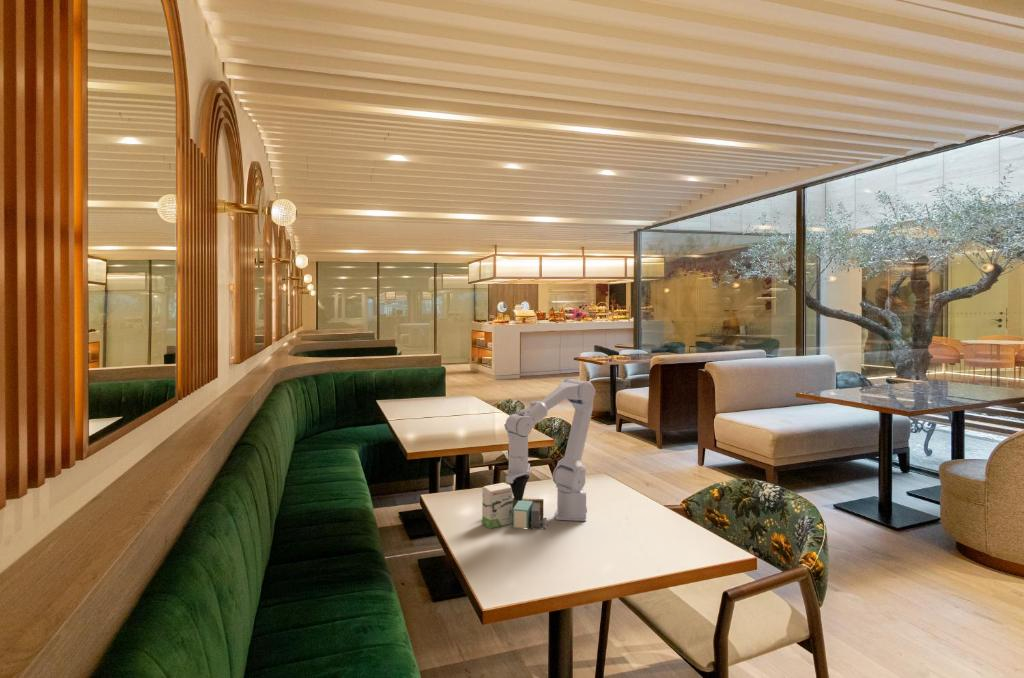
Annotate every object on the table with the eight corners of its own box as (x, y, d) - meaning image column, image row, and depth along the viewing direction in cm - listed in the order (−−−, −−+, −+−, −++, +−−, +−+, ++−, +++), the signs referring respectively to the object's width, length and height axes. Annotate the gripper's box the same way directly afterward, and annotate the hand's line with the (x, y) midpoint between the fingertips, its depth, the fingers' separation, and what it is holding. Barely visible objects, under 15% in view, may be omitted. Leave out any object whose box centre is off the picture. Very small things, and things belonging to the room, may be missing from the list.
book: (532, 519, 185) (532, 501, 184) (527, 529, 177) (527, 510, 176) (518, 518, 186) (518, 500, 185) (513, 528, 178) (513, 509, 177)
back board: (543, 517, 186) (543, 499, 186) (543, 518, 185) (543, 500, 185) (490, 515, 188) (490, 497, 187) (490, 516, 187) (490, 498, 186)
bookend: (546, 519, 185) (546, 502, 184) (545, 529, 177) (545, 511, 177) (532, 518, 185) (532, 501, 185) (531, 528, 177) (531, 510, 177)
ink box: (489, 529, 177) (489, 491, 176) (481, 523, 181) (481, 486, 180) (513, 523, 182) (513, 486, 181) (504, 517, 186) (504, 481, 185)
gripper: (521, 463, 165) (521, 509, 166) (539, 450, 178) (539, 493, 179) (499, 460, 167) (499, 506, 169) (518, 448, 181) (517, 490, 182)
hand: (518, 499), depth 174 cm, fingers closed
